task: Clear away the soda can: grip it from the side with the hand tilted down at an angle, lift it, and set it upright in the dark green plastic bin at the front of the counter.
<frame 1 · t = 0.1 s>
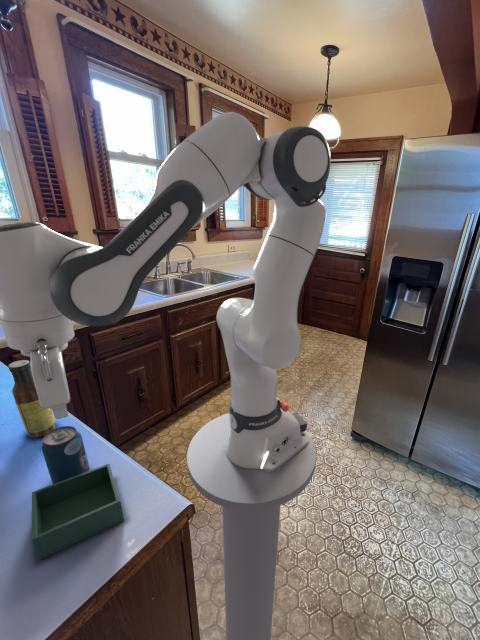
hand: (59, 402, 55), 23 cm above the counter, tool pointing down, fingers open, 8 cm apart
soda can: (72, 479, 68), on the counter
sauce bottle: (42, 431, 81), on the counter
bin: (81, 515, 60), on the counter
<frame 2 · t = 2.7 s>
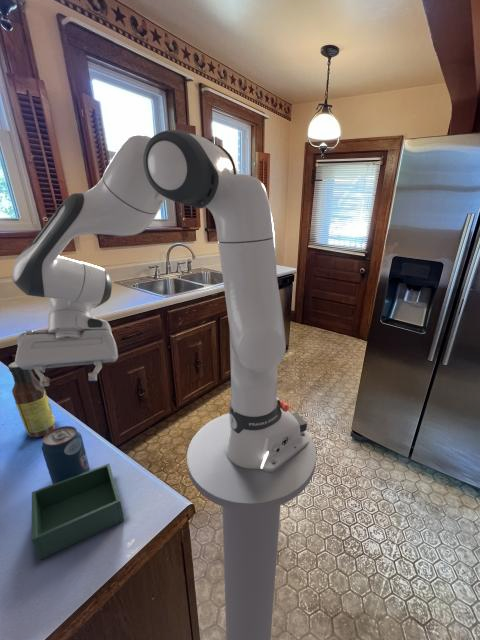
hand: (69, 383, 72), 17 cm above the counter, tool tilted 45°, fingers open, 8 cm apart
nothing on the counter moved.
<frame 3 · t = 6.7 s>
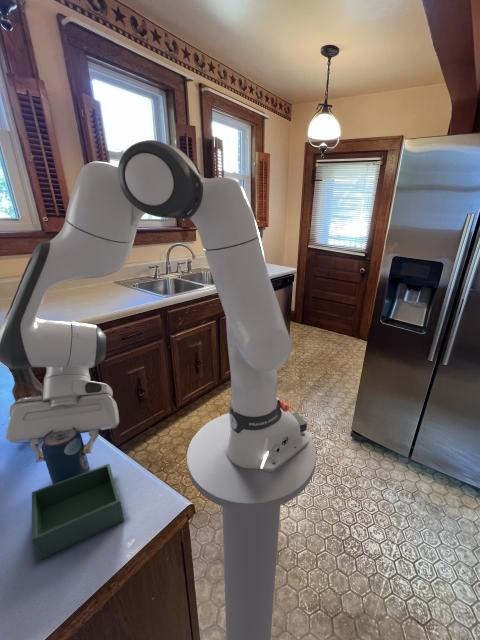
hand: (65, 457, 65), 7 cm above the counter, tool tilted 45°, fingers closed on soda can, 7 cm apart
soda can: (72, 479, 68), on the counter, touching gripper
everything else where it was.
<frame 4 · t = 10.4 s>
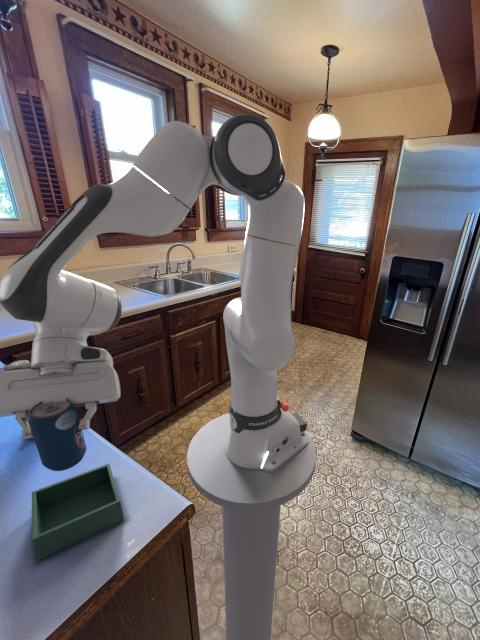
hand: (57, 433, 55), 18 cm above the counter, tool tilted 45°, fingers closed on soda can, 7 cm apart
soda can: (66, 460, 58), point 11 cm above the counter, touching gripper
everything else where it was.
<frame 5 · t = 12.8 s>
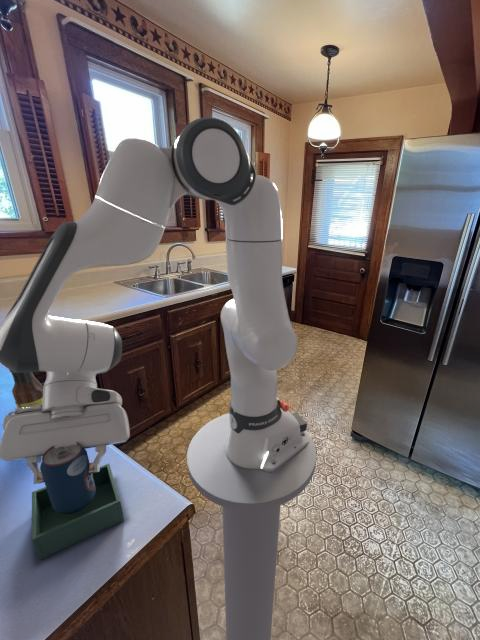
hand: (68, 477, 56), 11 cm above the counter, tool tilted 45°, fingers closed on soda can, 7 cm apart
soda can: (76, 501, 59), point 4 cm above the counter, touching gripper
everything else where it was.
when the fingers open (7 cm above the counter, at t = 14.4 s): soda can stays where it is, resting on bin.
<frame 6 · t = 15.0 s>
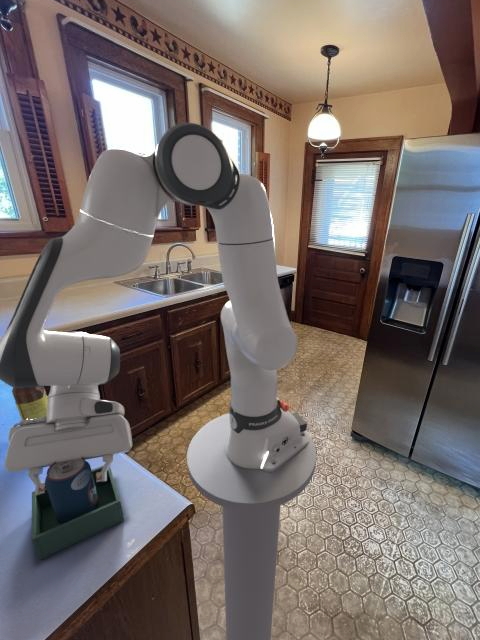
hand: (72, 488, 57), 8 cm above the counter, tool tilted 45°, fingers open, 8 cm apart
soda can: (79, 514, 60), resting on bin
everything else where it was.
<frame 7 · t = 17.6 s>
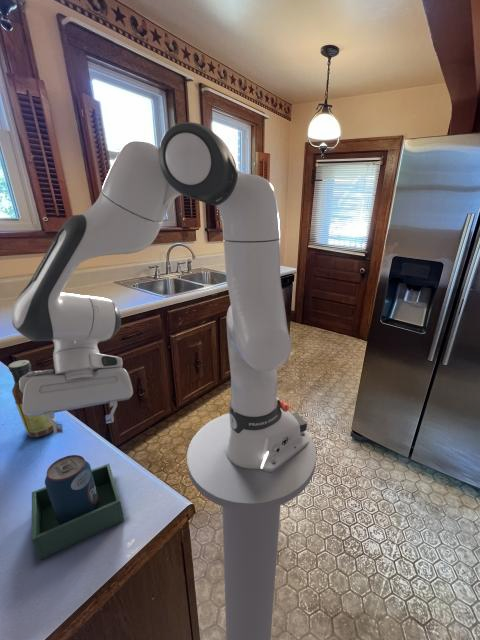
hand: (85, 428, 67), 11 cm above the counter, tool tilted 40°, fingers open, 8 cm apart
nothing on the counter moved.
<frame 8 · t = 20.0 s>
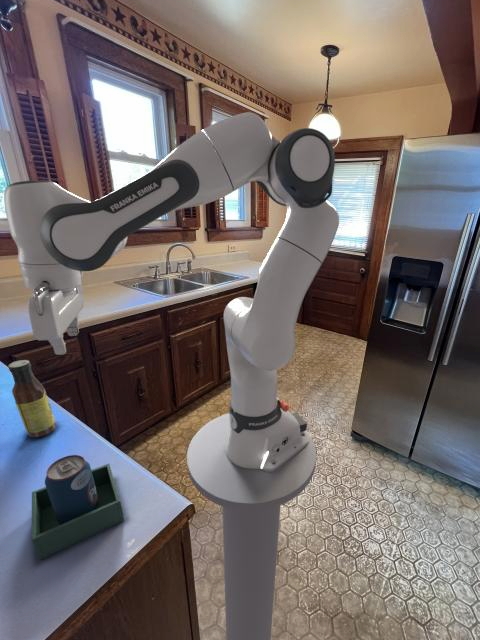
hand: (68, 343, 64), 29 cm above the counter, tool pointing down, fingers open, 8 cm apart
nothing on the counter moved.
at the end: soda can inside the target area in the bin (0.1 cm from its centre), point 0.4 cm above the bin's base; soda can tilted 0°; the gripper is holding nothing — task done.
